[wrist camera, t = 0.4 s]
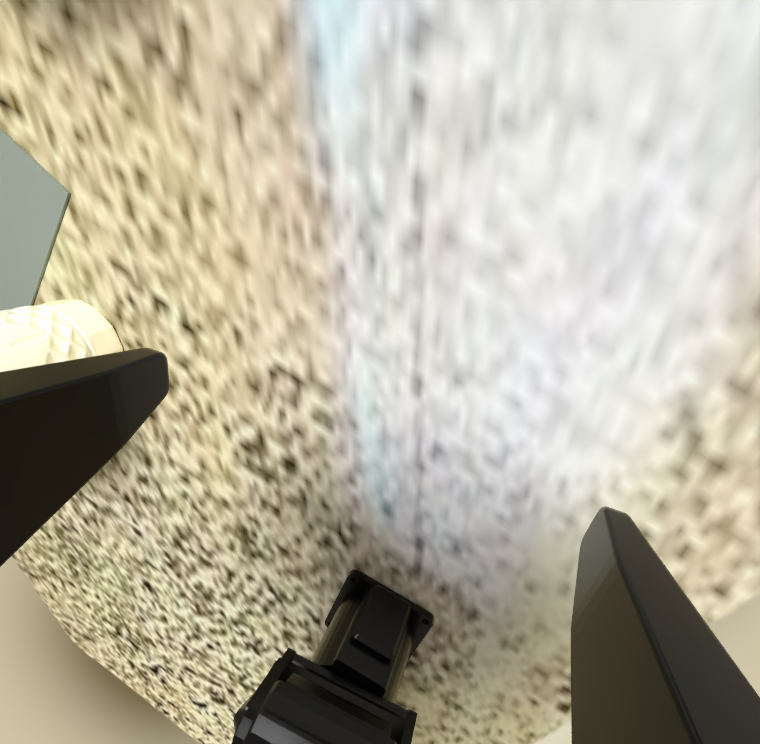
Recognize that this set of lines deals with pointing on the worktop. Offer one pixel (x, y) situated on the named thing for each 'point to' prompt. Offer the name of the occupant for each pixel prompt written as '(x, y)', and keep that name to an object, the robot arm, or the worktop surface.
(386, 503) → the worktop surface
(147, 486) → the worktop surface
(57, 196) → the mat
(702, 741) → the robot arm
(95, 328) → the white cup
